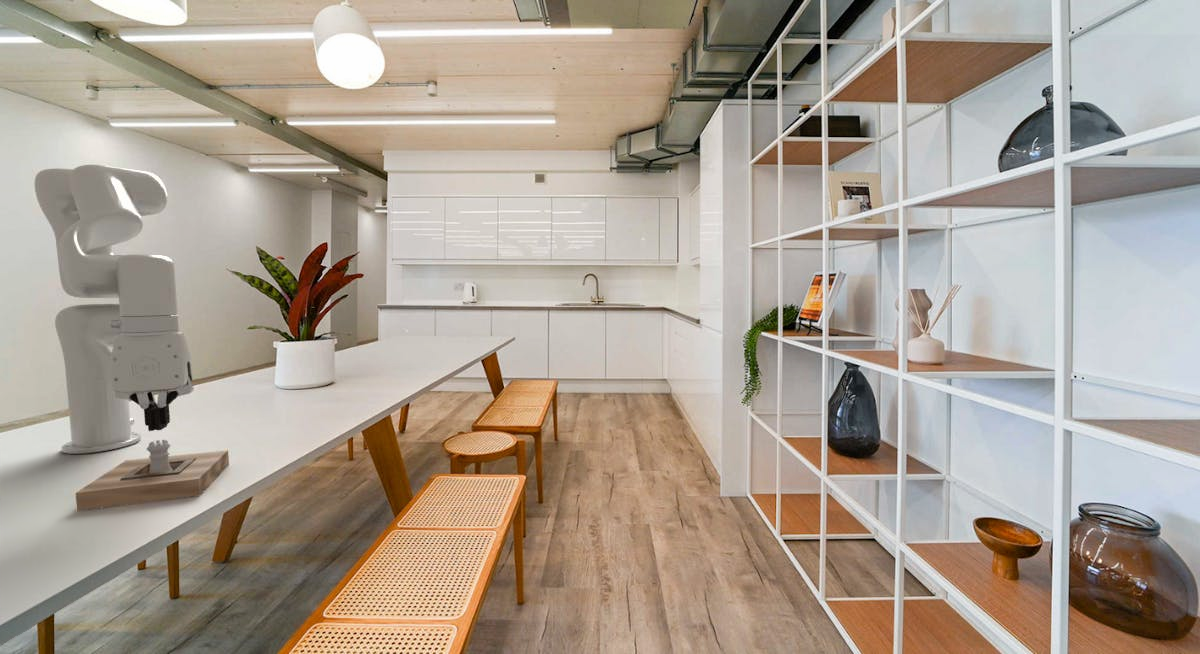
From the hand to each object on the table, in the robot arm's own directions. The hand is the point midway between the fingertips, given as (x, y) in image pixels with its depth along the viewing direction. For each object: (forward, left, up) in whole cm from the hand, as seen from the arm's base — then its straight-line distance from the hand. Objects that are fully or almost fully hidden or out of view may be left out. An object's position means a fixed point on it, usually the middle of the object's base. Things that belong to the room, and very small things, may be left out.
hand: (158, 428), depth 89 cm
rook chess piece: (0, 0, -11) cm, 11 cm away
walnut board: (0, 0, -11) cm, 11 cm away
